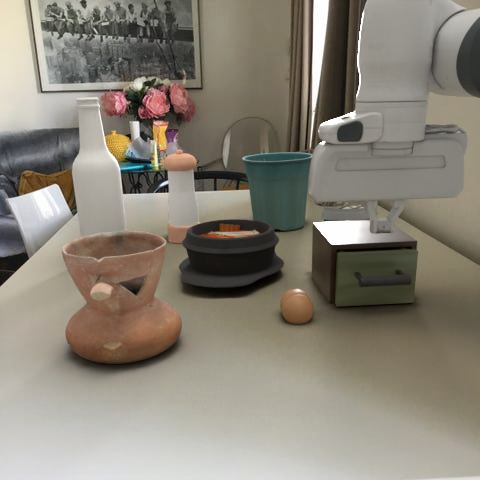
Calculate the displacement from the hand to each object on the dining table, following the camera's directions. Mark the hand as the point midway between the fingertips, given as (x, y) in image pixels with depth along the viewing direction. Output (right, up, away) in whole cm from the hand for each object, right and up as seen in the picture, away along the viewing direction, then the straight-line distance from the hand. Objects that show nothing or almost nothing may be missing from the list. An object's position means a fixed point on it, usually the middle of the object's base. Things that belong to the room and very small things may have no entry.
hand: (381, 232), depth 77 cm
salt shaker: (-32, +6, +48) cm, 58 cm away
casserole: (-21, -4, +24) cm, 32 cm away
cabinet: (0, -7, +14) cm, 16 cm away
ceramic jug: (-34, -16, -4) cm, 38 cm away
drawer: (0, -8, +10) cm, 12 cm away
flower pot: (-10, +10, +58) cm, 59 cm away
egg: (-11, -12, +3) cm, 17 cm away
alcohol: (-46, 0, +35) cm, 57 cm away
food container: (+3, 0, +31) cm, 31 cm away
